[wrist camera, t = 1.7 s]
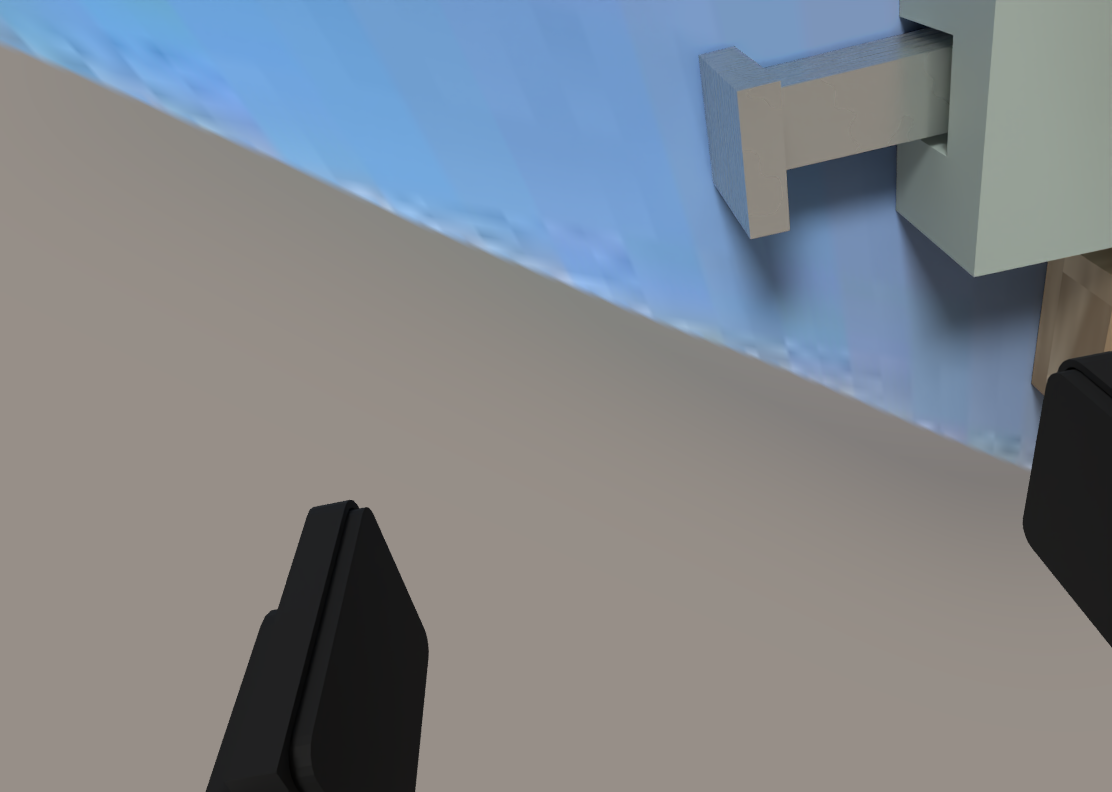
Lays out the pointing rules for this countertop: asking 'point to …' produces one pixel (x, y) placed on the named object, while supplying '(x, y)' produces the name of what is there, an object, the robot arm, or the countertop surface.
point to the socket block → (1016, 134)
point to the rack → (1074, 312)
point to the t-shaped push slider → (816, 114)
